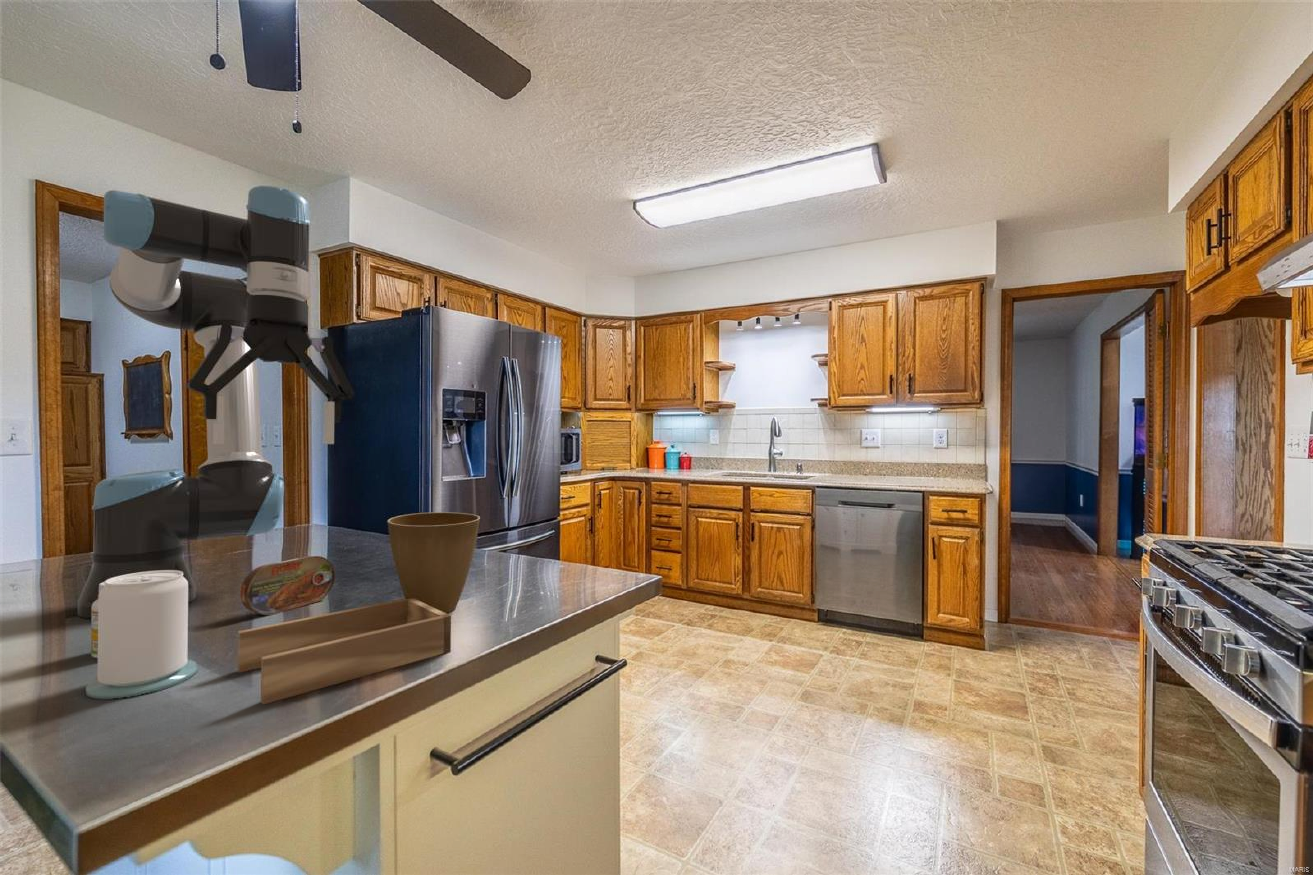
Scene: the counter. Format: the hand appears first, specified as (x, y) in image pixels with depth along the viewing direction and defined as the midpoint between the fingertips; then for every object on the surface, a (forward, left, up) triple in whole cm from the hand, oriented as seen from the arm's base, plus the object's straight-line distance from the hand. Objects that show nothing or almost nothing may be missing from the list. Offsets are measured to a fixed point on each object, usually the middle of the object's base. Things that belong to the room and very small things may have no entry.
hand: (276, 444), depth 82 cm
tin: (-17, +6, -29) cm, 34 cm away
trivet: (+4, -15, -29) cm, 32 cm away
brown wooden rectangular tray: (+16, +6, -29) cm, 33 cm away
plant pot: (+2, +23, -29) cm, 37 cm away
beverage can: (+4, -15, -28) cm, 32 cm away
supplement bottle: (-10, -16, -29) cm, 35 cm away
